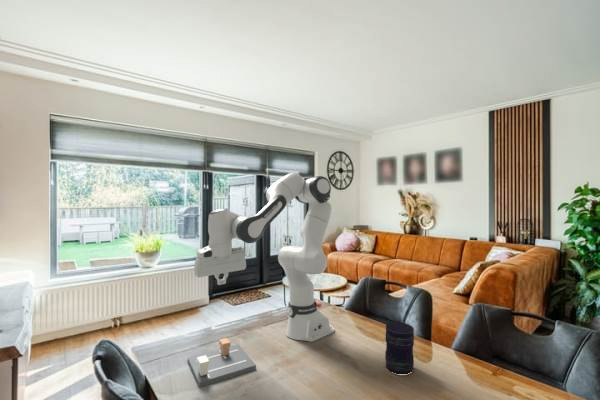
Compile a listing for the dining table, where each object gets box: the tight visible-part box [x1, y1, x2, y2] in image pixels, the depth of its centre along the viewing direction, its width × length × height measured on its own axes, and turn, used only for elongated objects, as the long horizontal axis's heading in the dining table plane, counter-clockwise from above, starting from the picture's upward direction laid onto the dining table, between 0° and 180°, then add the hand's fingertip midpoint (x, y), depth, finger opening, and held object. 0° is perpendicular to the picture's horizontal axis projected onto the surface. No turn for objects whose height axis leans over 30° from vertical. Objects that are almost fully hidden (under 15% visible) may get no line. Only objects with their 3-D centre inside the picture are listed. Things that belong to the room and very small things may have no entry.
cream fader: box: [197, 355, 209, 376], centre depth 108 cm, size 3×4×5 cm
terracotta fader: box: [218, 337, 231, 356], centre depth 121 cm, size 3×4×5 cm
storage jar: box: [384, 321, 415, 375], centre depth 114 cm, size 10×10×15 cm
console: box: [187, 344, 257, 388], centre depth 115 cm, size 20×18×2 cm
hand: (221, 284), depth 125 cm, fingers closed
